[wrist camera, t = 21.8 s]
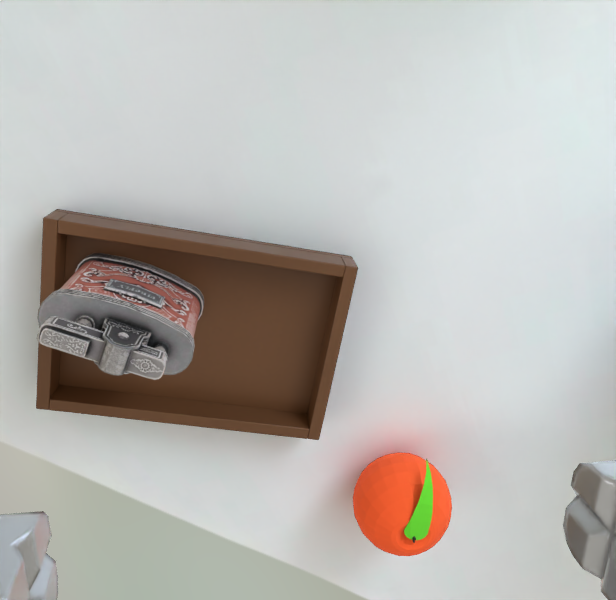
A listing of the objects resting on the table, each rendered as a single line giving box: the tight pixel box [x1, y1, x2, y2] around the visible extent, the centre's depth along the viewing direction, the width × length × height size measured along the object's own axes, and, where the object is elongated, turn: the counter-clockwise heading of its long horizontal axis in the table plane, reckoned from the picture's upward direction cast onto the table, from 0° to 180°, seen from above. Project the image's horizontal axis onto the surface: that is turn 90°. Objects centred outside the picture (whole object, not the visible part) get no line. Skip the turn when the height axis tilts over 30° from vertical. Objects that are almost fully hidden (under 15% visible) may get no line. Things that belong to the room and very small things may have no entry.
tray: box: [36, 209, 358, 440], centre depth 38 cm, size 19×13×2 cm
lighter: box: [37, 253, 204, 380], centre depth 32 cm, size 8×3×10 cm, turn 67°
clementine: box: [353, 453, 452, 556], centre depth 41 cm, size 8×7×7 cm
